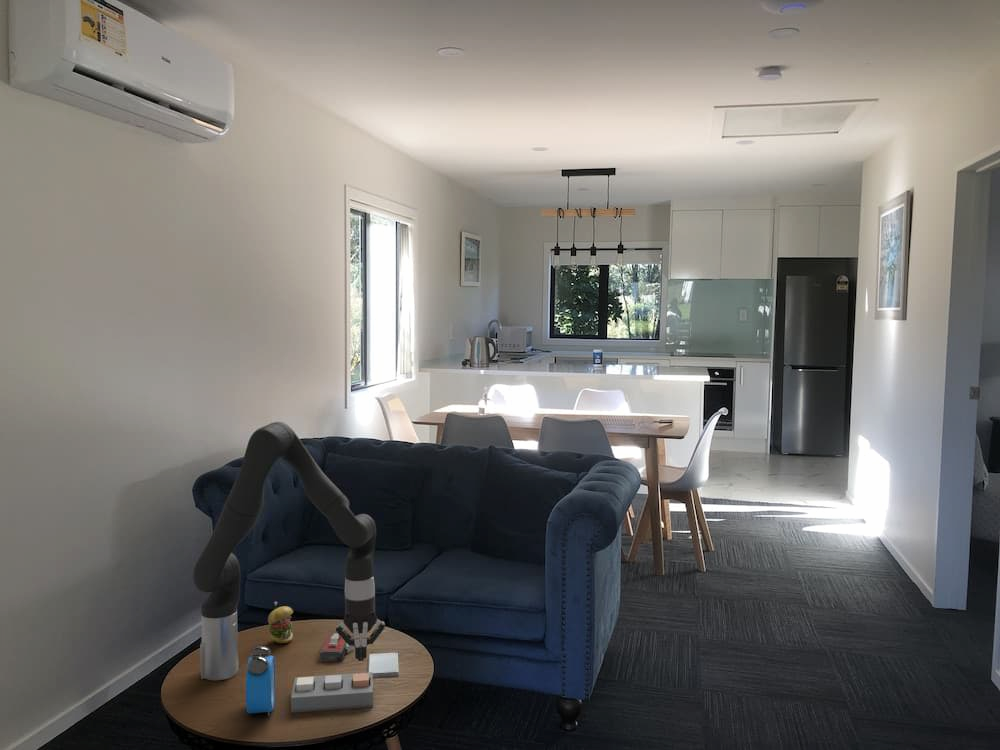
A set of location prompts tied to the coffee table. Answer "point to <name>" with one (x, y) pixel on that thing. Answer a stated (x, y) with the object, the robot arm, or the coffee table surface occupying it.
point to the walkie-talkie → (334, 648)
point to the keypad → (332, 695)
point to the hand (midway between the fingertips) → (361, 659)
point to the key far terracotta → (361, 680)
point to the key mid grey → (333, 682)
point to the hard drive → (383, 664)
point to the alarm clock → (260, 681)
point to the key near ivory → (305, 684)
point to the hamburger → (280, 624)
